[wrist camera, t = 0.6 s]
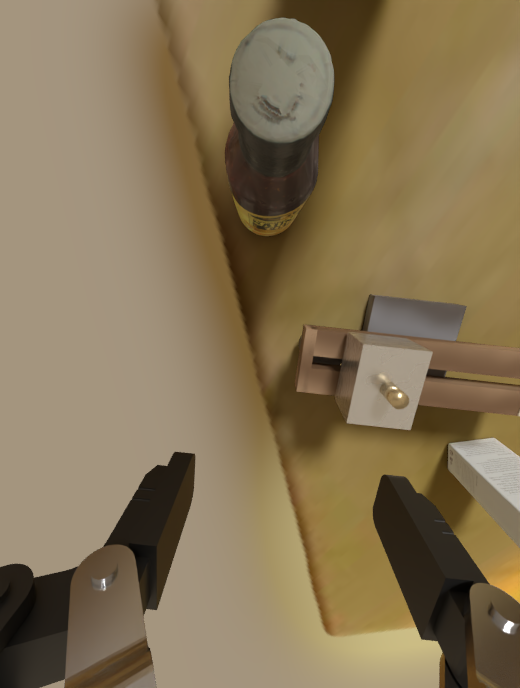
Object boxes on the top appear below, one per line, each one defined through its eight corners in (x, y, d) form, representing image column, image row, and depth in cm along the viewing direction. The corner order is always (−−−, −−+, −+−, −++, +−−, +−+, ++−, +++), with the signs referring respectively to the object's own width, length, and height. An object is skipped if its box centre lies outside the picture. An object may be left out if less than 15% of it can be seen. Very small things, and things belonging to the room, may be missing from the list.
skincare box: (446, 469, 38) (525, 558, 26) (446, 442, 36) (530, 523, 25) (493, 464, 37) (595, 552, 26) (495, 436, 36) (602, 515, 24)
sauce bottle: (256, 248, 31) (238, 218, 12) (227, 194, 29) (151, 57, 10) (309, 216, 30) (386, 125, 10) (282, 159, 28) (312, -68, 9)
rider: (342, 327, 25) (373, 352, 18) (396, 333, 25) (450, 361, 18) (330, 391, 27) (354, 438, 20) (381, 396, 27) (424, 446, 20)
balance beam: (300, 286, 32) (311, 293, 23) (526, 311, 32) (619, 328, 23) (286, 383, 35) (292, 420, 26) (491, 406, 35) (562, 450, 26)
